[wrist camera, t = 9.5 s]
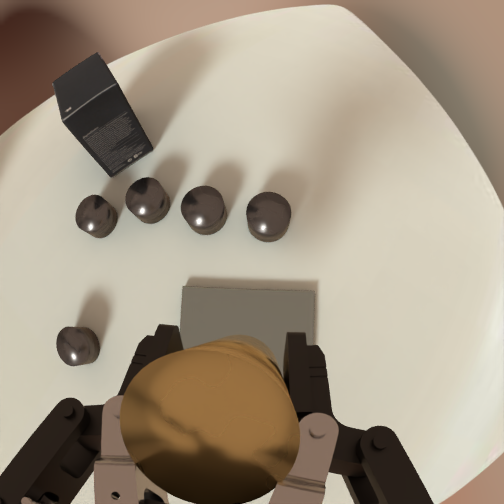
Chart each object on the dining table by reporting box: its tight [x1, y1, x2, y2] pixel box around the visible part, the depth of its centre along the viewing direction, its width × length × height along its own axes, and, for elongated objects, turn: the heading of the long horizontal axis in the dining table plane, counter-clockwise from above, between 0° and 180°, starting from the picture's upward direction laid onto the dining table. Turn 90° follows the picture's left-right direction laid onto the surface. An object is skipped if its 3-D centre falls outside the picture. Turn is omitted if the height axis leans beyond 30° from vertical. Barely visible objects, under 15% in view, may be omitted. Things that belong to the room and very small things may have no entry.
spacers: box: [56, 177, 291, 366], centre depth 23 cm, size 21×22×2 cm
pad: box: [180, 286, 315, 377], centre depth 23 cm, size 11×11×1 cm
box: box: [52, 52, 153, 177], centre depth 24 cm, size 8×6×11 cm
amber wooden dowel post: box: [120, 335, 300, 504], centre depth 11 cm, size 4×4×10 cm
